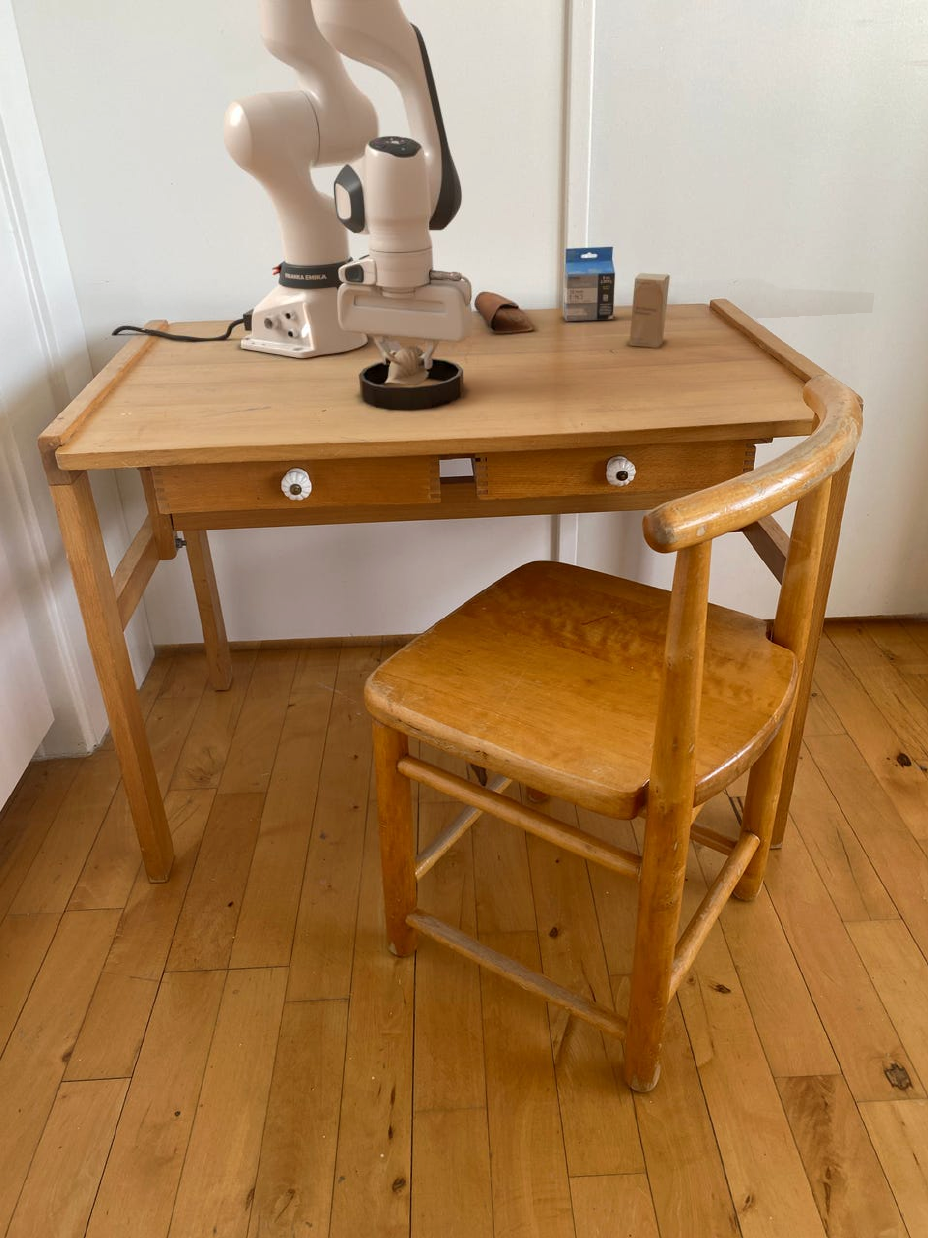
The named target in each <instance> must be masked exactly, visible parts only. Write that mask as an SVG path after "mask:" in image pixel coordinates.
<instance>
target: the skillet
mask: <svg viewBox="0 0 928 1238" xmlns="http://www.w3.org/2000/svg"><path fill="white" fill-rule="evenodd" d="M387 343H388V345H389V347H390V349H391V350H392V351H396V353H397V352H398V351H400V350H401V349H403V347H401V345H400V344H399V341H397V340H391V341H387ZM432 362H433V365H432V367H431V368H430V369H426V371H428V372H429V374H428V377H427V378H426V379H425V380H434V381H435V380H436V381H440V382H437V383H433V384H428V385H427V384H426V385H419V386H411V387H410V386H388V385H383V384H386V383H385V382H386V380H387V379H388V373H389V367H390V365H384V364H383V361H379V362H376V363H372V364H371V365H368V366H366V367H365V368H363V369H362V370H361V372H360V373H359V374H358V379H359V389H360V390H359V391H360V397H361V398H362V401H363V402H364V403H365V404H367V405H370V406H372V407H374V408H379V409H385V410H390V411H417V410H418V411H419V410H427V409H432V408H437V407H442V406H445V405H450V404H452V403H453V402H455V401H457V400H458V399H460V398H461V397H462V395H463V394H464V391H465V387H464V386H465V385H464V369H463V368H462V367H461V365H460V364H459V363H456V362H453V361H452V360H448V359H443V358H435V357H432Z"/></svg>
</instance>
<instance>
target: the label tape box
mask: <svg viewBox="0 0 928 1238" xmlns="http://www.w3.org/2000/svg"><path fill="white" fill-rule="evenodd" d="M613 251H614V246H594V247H593V246H591V247H590V246H589V247H570V248H565V262H564V285H563V286H564V287H563V288H564V291H563V293H564V294H563V317H564V320H565V321H566V322H581V321H603V320H605V321H606V320H613V318H614V307H615V283H616V270H615V267H614V266H615V265H614V261H613V254H614V253H613ZM589 253H590V254H591V255H596V256H595V257H582V256H583V255H588V254H589Z"/></svg>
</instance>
